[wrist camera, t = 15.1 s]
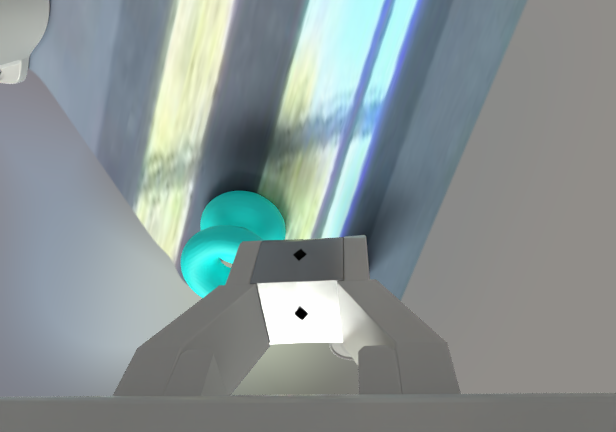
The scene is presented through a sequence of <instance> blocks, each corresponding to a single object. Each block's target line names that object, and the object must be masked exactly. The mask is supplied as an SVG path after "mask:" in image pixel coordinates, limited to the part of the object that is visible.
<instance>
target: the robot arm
mask: <svg viewBox="0 0 616 432" xmlns="http://www.w3.org/2000/svg"><path fill="white" fill-rule="evenodd" d="M48 18H49V0H0V70H1V72H0V83H7V84H15V83H19V82H22V81H24V80H25V78H26V76H27V72H28V65H29V57H30V54H31V53H32V51H33V49H34V48H35V47H36V46H37V44H38V43H39V42H40V40H41V39H42V37H43V35H44V33H45V30H46V27H47V23H48ZM298 342H299V343H300V342H343V345H344V346H345V348H346V349H347V351H348V352H349V354H350V355H351V357H352V358H353V360H354V361H355V362H356V364H357V365H358V370H359V371H358V372H359V394H358V395H356V394H355V395H231V394H232V393H233V391H234V390H235V389H236V388H237V386H238V385H239V384H240V383H241V381H242V380H243V379H244V378H245V376H246V375H247V374H248V373H249V372H250V370H251V369H252V368H253V366H254V365H255V364H256V363H257V362H258V360H259V359H260V358H261V357H262V355H263V354H264V353H265V352H266V350H267V349H268V348H269V347H270V344H279V343H298ZM0 432H616V393H525V394H524V393H523V394H521V393H520V394H519V393H516V394H461V393H460V389H459V385H458V382H457V378H456V374H455V371H454V367H453V363H452V359H451V356H450V352H449V348H448V344H447V342H446V341H445V340H443V339H442V338H441V337H440V336H439V335H438V334H436V332H434V331H433V330H432V329H431V328H430V327H429V326H428V325H427V324H425V323H424V322H423V321H422V320H421V319H420V318H419V317H418V316H416V315H415V314H414V313H413V312H412V311H411V310H410V309H408V307H406V306H405V305H404V304H403V303H402V302H401V301H400V300H399V299H397V298H396V297H395V296H394V295H393V294H392V293H391V292H390V291H388V290H387V289H386V288H385V287H384V286H383V285H382V284H381V283H380V282H378V281H377V280H370V276H369V264H368V252H367V241H366V236H365V235H358V236H346V237H339V238H323V239H307V240H303V239H295V240H263V241H243V242H242V243H240V245H239V247H238V250H237V253H236V256H235V259H234V262H233V264H232V267H231V270H230V273H229V276H228V279H227V282H226V284H225V285H220V286H218V287H217V288H215V289H214V290H213V291H212V292H210V293H209V294H208V295H206V296H205V297H204V298H202V299H201V300H200V301H199V302H197V303H196V304H195V305H193V306H192V307H191V308H189V309H188V310H187V311H186V312H184V313H183V314H182V315H180V316H179V317H178V318H177V319H175V320H174V321H172V322H171V323H170V324H169V325H167V326H166V327H165V328H163V329H162V330H161V331H159V332H158V333H157V334H156V335H154V336H153V337H152V338H150V339H149V340H148V341H146V342H145V343H144V344H142V345H141V346H140V347H139V348H137V350H136V352H135V354H134V356H133V358H132V360H131V362H130V364H129V366H128V367H127V369H126V371H125V373H124V375H123V377H122V379H121V381H120V383H119V385H118V387H117V388H116V391H115V392H114V394H113V396H79V397H78V396H74V397H71V396H69V397H0Z"/></svg>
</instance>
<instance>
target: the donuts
mask: <svg viewBox="0 0 616 432" xmlns="http://www.w3.org/2000/svg"><path fill="white" fill-rule="evenodd" d="M241 227H243V228H241ZM200 228H201V231H199V232H198V233H196V234H195V235H194V236H193V237H192V238H191V239H190V240H189V241H188V242H187V243H186V245H185V247H184V249H183V251H182V255H181V270H182V274H183V276H184V279H185V281H186V282H187V284H188V285H189V287H190V288H191V289H192V290H193V291H194V292H195V293H196V294H198V295H199V296H200V297H202V298H204V297H205V296H206V295H208V294H209V293H210V292H212V291H213V290H214V289H215V288H217V287H218V286H220V285H225V284H226V282H227V279H228V276H229V273H230V270H231V268H229V267H226V266H225V265H224V264H223V263H222V262H221V261H220V258H221V259H222V260H224V261H226V262H229V263H232V264H233V262H234V259H235V256H236V253H237V250H238V247H239V245H240V243H242V242H243V241H263V240H285V235H286V228H285V223H284V219H283V217H282V215H281V213H280V211H279V210H278V209H277V207H276V206H275V205H274V204H273V203H272V202H270V201H269V200H268V199H266V198H265V197H263V196H261V195H259V194H256V193H253V192H249V191H230V192H226V193H223V194H221V195H219V196H217V197H215V198H214V199H213V200H211V201H210V202H209V203H208V205H207V206H206V208H205V209H204V211H203V213H202V216H201V222H200ZM245 228H246V229H245ZM247 229H248V230H247Z"/></svg>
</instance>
